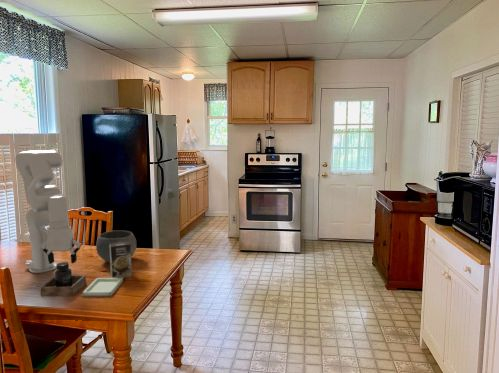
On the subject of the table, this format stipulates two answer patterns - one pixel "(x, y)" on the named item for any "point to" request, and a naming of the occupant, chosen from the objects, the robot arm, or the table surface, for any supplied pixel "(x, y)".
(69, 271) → the supplement bottle
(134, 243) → the bowl
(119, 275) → the coffee box
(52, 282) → the holder
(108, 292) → the tray
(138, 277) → the table surface
